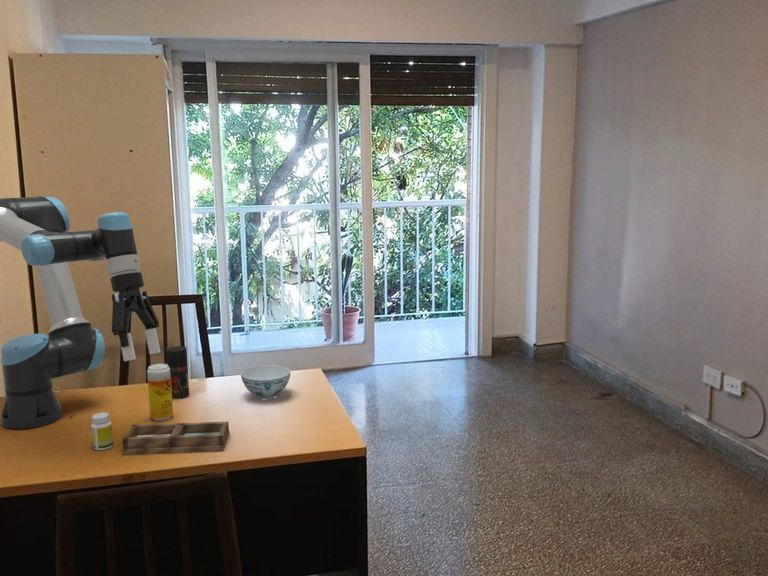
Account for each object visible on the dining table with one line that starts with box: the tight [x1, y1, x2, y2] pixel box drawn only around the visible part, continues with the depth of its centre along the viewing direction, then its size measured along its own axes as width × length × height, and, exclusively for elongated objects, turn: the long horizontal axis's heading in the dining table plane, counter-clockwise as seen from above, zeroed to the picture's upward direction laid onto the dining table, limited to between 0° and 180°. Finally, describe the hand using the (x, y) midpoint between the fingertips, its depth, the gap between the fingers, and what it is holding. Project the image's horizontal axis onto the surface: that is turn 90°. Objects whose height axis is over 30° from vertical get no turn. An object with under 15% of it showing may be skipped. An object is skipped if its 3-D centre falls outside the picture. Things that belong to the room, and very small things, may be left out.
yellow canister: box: [146, 363, 174, 422], centre depth 187 cm, size 6×6×15 cm
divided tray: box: [121, 421, 230, 456], centre depth 170 cm, size 24×11×4 cm, turn 95°
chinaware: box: [240, 364, 291, 400], centre depth 205 cm, size 15×15×8 cm
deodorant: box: [165, 345, 190, 400], centre depth 205 cm, size 6×6×15 cm
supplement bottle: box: [90, 412, 114, 451], centre depth 169 cm, size 5×5×8 cm
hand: (143, 356), depth 168 cm, fingers open, 13 cm apart
